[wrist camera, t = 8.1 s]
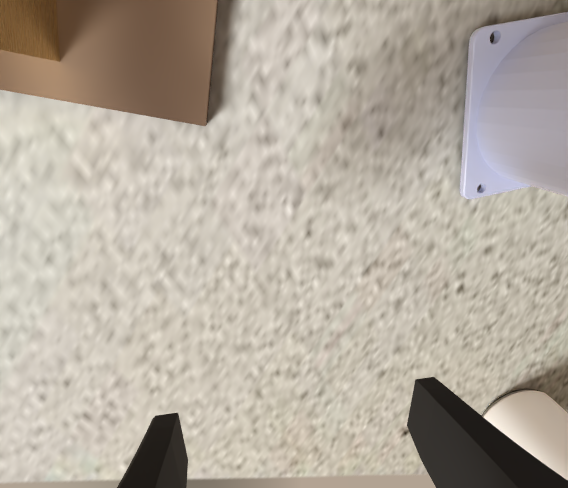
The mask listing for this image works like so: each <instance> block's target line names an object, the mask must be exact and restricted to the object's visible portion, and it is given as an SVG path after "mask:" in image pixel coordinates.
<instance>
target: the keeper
mask: <svg viewBox="0 0 568 488" xmlns="http://www.w3.org/2000/svg"><path fill="white" fill-rule="evenodd" d="M217 8H218V0H57V16H58V34H59V52H60V62H58V61H53V60H48V59H43V58H38V57H33V56H28V55H23V54H18V53H13V52H8V51H3V50H0V90H6V91H11V92H17V93H23V94H28V95H34V96H39V97H45V98H51V99H56V100H62V101H67V102H73V103H78V104H84V105H90V106H95V107H101V108H106V109H112V110H118V111H123V112H129V113H134V114H140V115H146V116H151V117H157V118H162V119H168V120H173V121H179V122H185V123H190V124H196V125H201V126H206V125H207V116H208V105H209V94H210V83H211V72H212V62H213V51H214V40H215V29H216V18H217Z"/></svg>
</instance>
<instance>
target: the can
mask: <svg viewBox="0 0 568 488" xmlns="http://www.w3.org/2000/svg"><path fill="white" fill-rule="evenodd" d="M482 417H483V418H485V419H486V420H487V421H488V422H490V423H491V424H492V425H493V426H495V427H496V428H497V429H498V430H500V431H501V432H502V433H504V434H505V435H506V436H507V437H509V438H510V439H511V440H513V441H514V442H515V443H517V444H518V445H519V446H521V447H522V448H523V449H525V450H526V451H527V452H529V453H530V454H531V455H533V456H534V457H535V458H537V459H538V460H540V461H541V462H542V463H544V464H545V465H546V466H548V467H549V468H551V469H552V470H553V471H555V472H556V473H558V474H559V475H561V476H562V477H563V478H565V479H566V480H568V413H567V412H566V411H565V410H564V409H563V408H562V407H561V406H560V405H559V404H557V403H556V402H555V401H554V400H553V399H552V398H551V397H550V396H548V395H547V394H546V393H543V392H540V391H535V390H529V389H526V390H518V391H515V392H512V393H509V394H507V395H505V396H503V397H501V398H499V399H498V400H496V401H495V402H494V403H492V404H491V405H490V406H489V407H488V408H487V409H486V411H485V412H484V413H483V415H482Z"/></svg>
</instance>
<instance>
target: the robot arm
mask: <svg viewBox="0 0 568 488" xmlns="http://www.w3.org/2000/svg"><path fill="white" fill-rule="evenodd" d="M492 33H493V34H494V41H493V42H492V43H491V42H490V35H491V34H492ZM480 184H481V188H480V189H479V190H478V191H477V188H478V186H479V185H480ZM531 186H534V187H537V188H541V189H544V190H547V191H551V192H554V193H557V194H561V195H564V196H568V12H564V13H558V14H552V15H547V16H541V17H535V18H530V19H524V20H518V21H512V22H507V23H501V24H495V25H490V26H484V27H481V28H478V29H476V30H475V31H474V32H473V33H472V35H471V37H470V40H469V52H468V68H467V84H466V100H465V116H464V132H463V148H462V165H461V181H460V194H461V196H462V197H464V198H467V199H474V198H479V197H484V196H488V195H493V194H498V193H502V192H507V191H512V190H517V189H521V188H526V187H531ZM407 426H408V429H409V431H410V434H411V436H412V439H413V441H414V444H415V446H416V448H417V451H418V453H419V455H420V458H421V460H422V462H423V464H424V466H425V468H426V470H427V472H428V473H429V475H430V477H431V479H432V481H433V483H434V484H435V486H436V488H568V480H566V479H565V478H563V477H562V476H561V475H559V474H558V473H556V472H555V471H553V470H552V469H551V468H549V467H548V466H546V465H545V464H544V463H542V462H541V461H540V460H538V459H537V458H535V457H534V456H533V455H531V454H530V453H529V452H527V451H526V450H525V449H523V448H522V447H521V446H519V445H518V444H517V443H515V442H514V441H513V440H511V439H510V438H509V437H507V436H506V435H505V434H504V433H502V432H501V431H500V430H498V429H497V428H496V427H495V426H493V425H492V424H491V423H490V422H488V421H487V420H486V419H485V418H483V417H482V416H481V415H480V414H478V413H477V412H476V411H475V410H474V409H472V408H471V407H470V406H469V405H467V404H466V403H465V402H464V401H463V400H461V399H460V398H459V397H458V396H457V395H455V394H454V393H453V392H452V391H450V390H449V389H448V388H447V387H446V386H444V385H443V384H442V383H441V382H439V381H438V380H437V379H436V378H434V377H430V378H423V379H416V380H415V385H414V391H413V396H412V402H411V407H410V412H409V418H408V423H407ZM187 467H188V458H187V453H186V448H185V444H184V439H183V434H182V429H181V425H180V420H179V415H178V413H172V414H165V415H158V416H155V417H154V418H153V419H152V421H151V423H150V426H149V428H148V430H147V432H146V434H145V436H144V438H143V440H142V442H141V444H140V446H139V448H138V450H137V452H136V454H135V456H134V458H133V460H132V461H131V463H130V465H129V467H128V469H127V471H126V473H125V474H124V476H123V478H122V480H121V482H120V483H119V485H118V487H117V488H186V483H187Z"/></svg>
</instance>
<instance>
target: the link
mask: <svg viewBox="0 0 568 488" xmlns="http://www.w3.org/2000/svg"><path fill="white" fill-rule="evenodd" d="M0 50H3V51H8V52H13V53H18V54H23V55H28V56H33V57H38V58H43V59H48V60H53V61H58V62H60V52H59V34H58V16H57V0H0Z"/></svg>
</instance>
